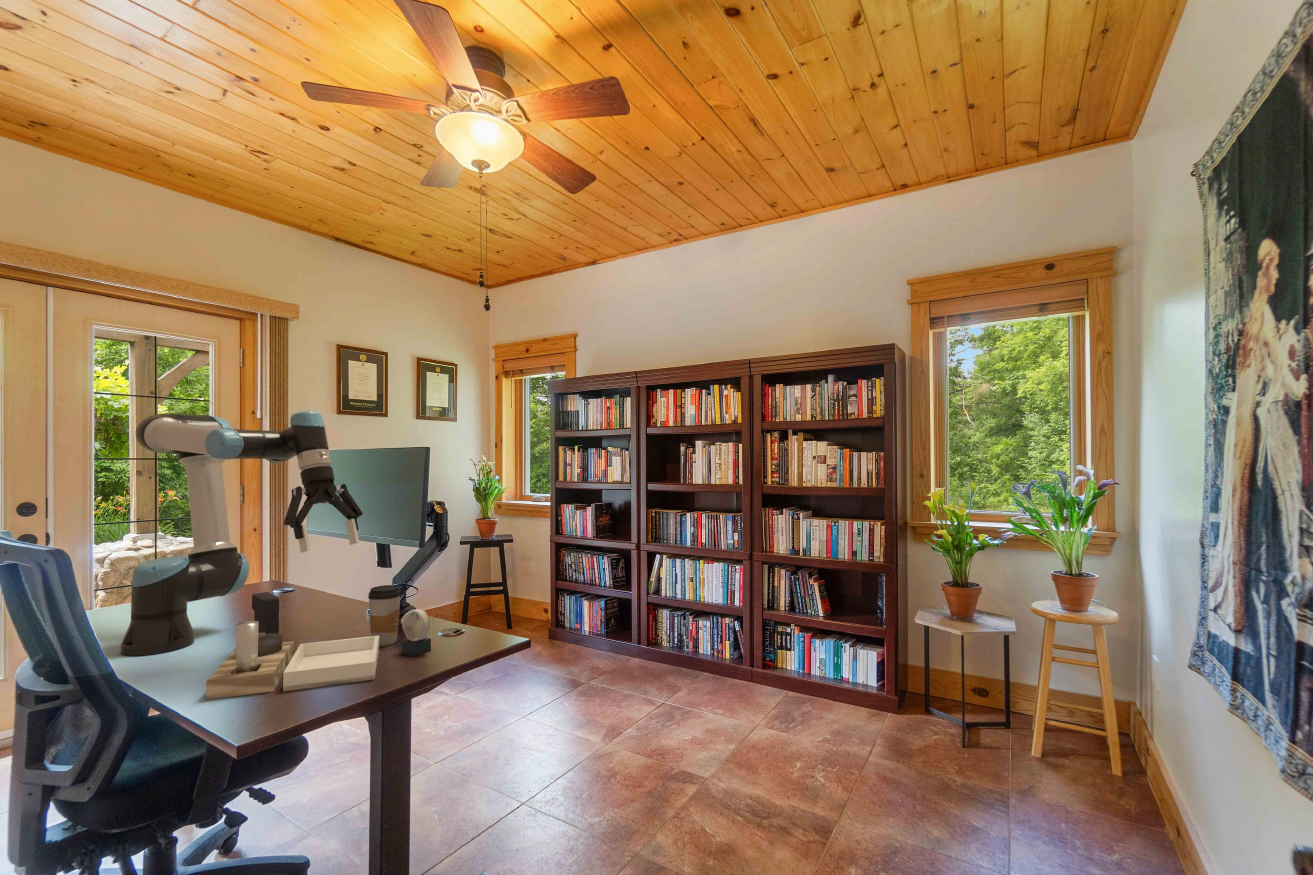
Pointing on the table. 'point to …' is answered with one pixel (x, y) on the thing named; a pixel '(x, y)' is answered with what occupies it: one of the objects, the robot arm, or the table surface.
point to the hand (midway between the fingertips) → (331, 547)
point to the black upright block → (267, 612)
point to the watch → (414, 643)
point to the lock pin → (247, 647)
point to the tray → (332, 663)
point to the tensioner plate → (266, 677)
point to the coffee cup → (384, 613)
